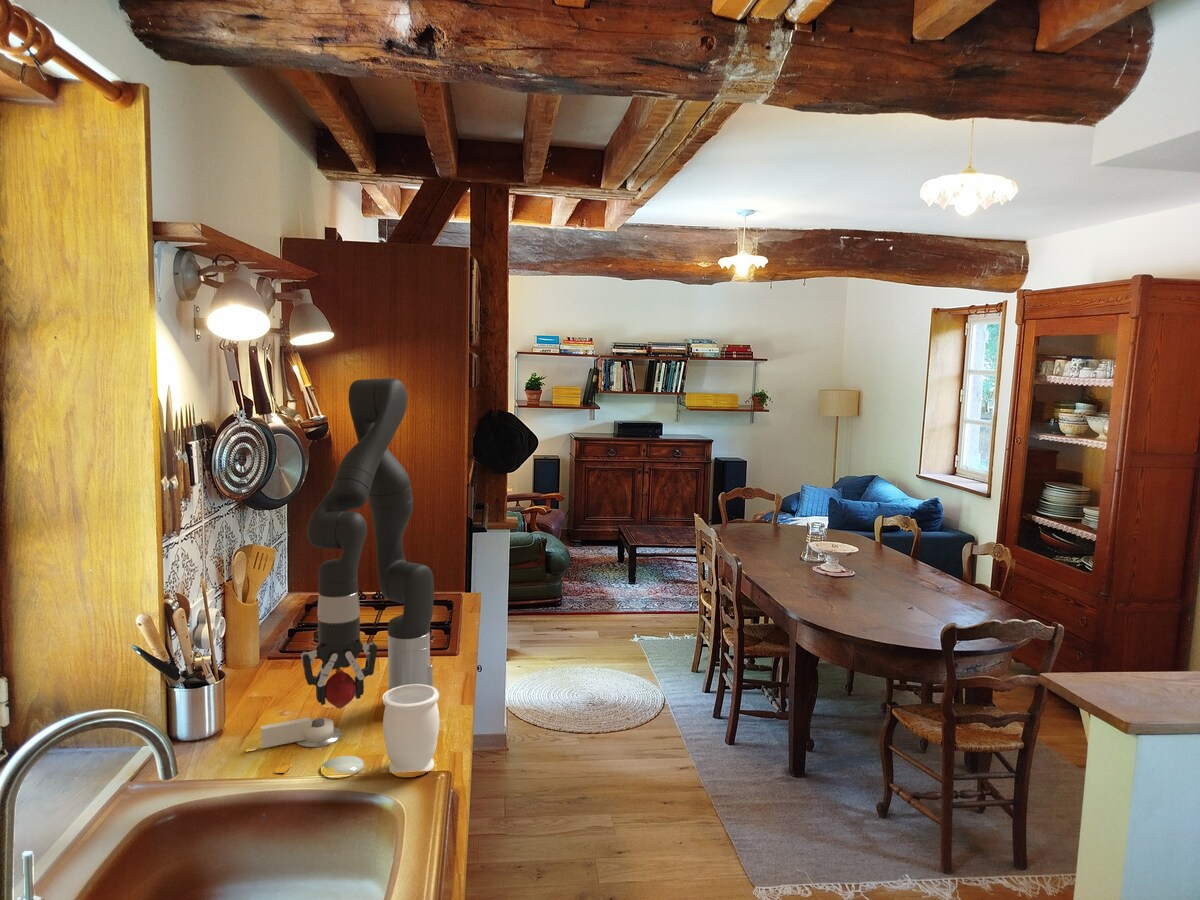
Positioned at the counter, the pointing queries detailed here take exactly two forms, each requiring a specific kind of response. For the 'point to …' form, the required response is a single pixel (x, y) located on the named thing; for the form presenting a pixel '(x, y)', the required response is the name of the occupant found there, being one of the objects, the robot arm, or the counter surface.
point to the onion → (340, 689)
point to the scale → (320, 744)
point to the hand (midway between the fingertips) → (340, 699)
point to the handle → (297, 731)
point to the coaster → (345, 764)
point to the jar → (411, 727)
